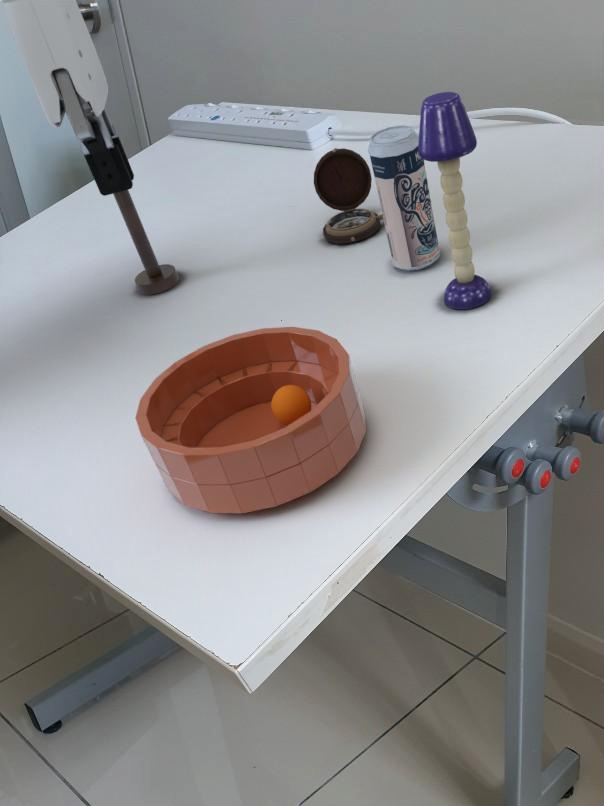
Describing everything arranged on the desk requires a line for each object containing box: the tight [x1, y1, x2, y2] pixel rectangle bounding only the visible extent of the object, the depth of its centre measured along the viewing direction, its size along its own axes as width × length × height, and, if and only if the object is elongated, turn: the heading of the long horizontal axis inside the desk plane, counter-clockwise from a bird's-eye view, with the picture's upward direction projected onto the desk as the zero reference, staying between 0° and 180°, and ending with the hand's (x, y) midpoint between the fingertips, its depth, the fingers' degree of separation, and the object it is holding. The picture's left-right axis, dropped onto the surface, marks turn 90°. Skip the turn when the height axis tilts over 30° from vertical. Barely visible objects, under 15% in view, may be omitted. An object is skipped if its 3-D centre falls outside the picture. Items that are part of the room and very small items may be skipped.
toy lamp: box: [418, 91, 493, 310], centre depth 72 cm, size 5×5×17 cm
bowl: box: [135, 326, 367, 514], centre depth 64 cm, size 16×16×6 cm
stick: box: [97, 125, 180, 296], centre depth 87 cm, size 4×4×16 cm
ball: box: [271, 385, 311, 425], centre depth 66 cm, size 3×3×3 cm
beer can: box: [367, 125, 441, 272], centre depth 80 cm, size 5×5×12 cm
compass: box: [313, 147, 384, 244], centre depth 90 cm, size 8×8×7 cm
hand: (118, 186), depth 85 cm, fingers closed on stick, 1 cm apart
